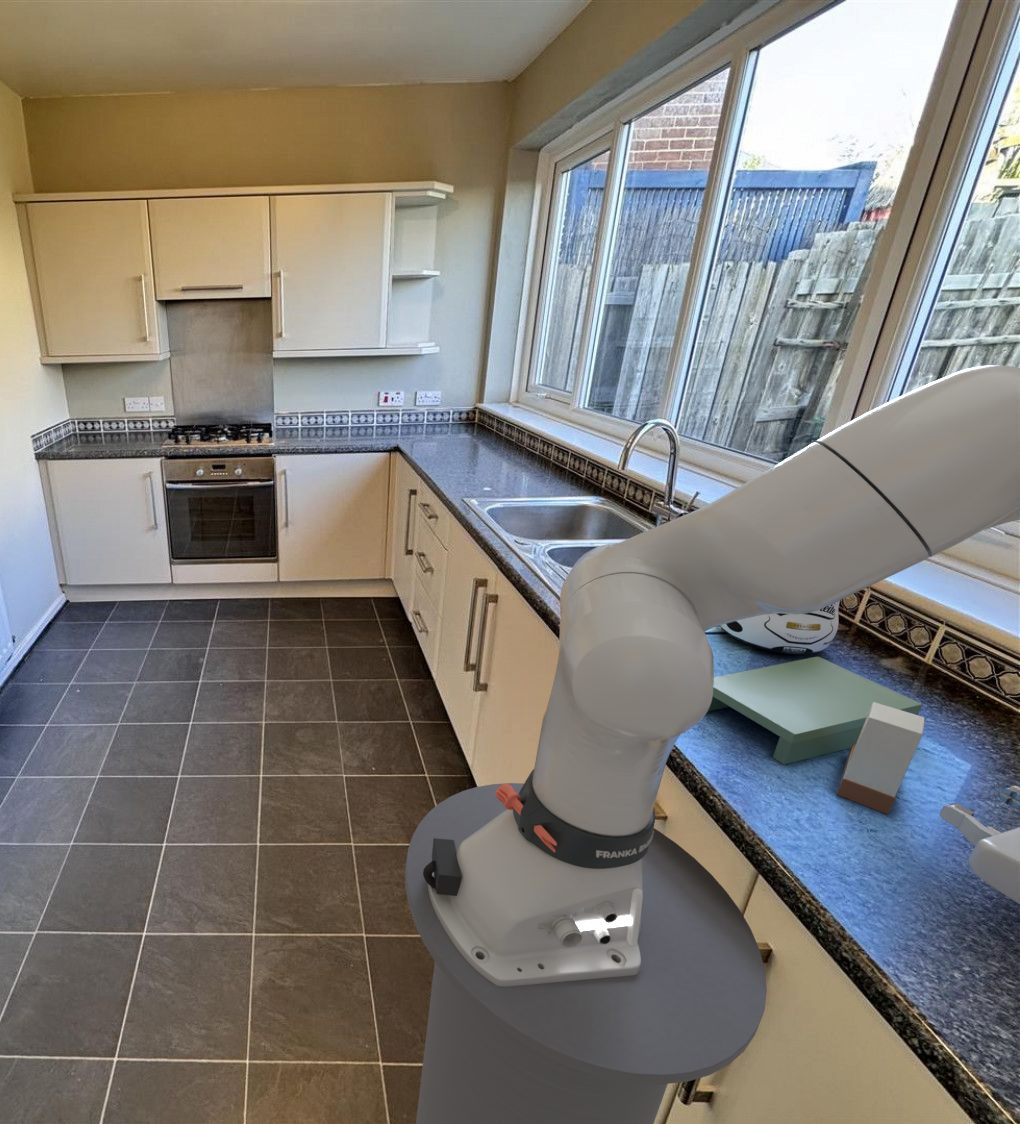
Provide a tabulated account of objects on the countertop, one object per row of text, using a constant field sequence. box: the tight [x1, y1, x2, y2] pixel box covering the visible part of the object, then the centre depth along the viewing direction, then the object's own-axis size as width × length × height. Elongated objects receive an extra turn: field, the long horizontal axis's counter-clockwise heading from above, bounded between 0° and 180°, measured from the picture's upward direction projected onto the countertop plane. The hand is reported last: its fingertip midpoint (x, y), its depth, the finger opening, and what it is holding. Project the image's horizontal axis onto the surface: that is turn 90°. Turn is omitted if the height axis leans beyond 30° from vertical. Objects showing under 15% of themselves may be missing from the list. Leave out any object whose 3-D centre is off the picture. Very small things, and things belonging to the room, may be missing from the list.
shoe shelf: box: [707, 656, 923, 766], centre depth 92 cm, size 24×14×5 cm, turn 105°
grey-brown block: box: [836, 702, 926, 815], centre depth 78 cm, size 10×5×12 cm, turn 133°
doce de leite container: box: [719, 600, 841, 656], centre depth 112 cm, size 17×17×18 cm
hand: (975, 799), depth 68 cm, fingers open, 8 cm apart
